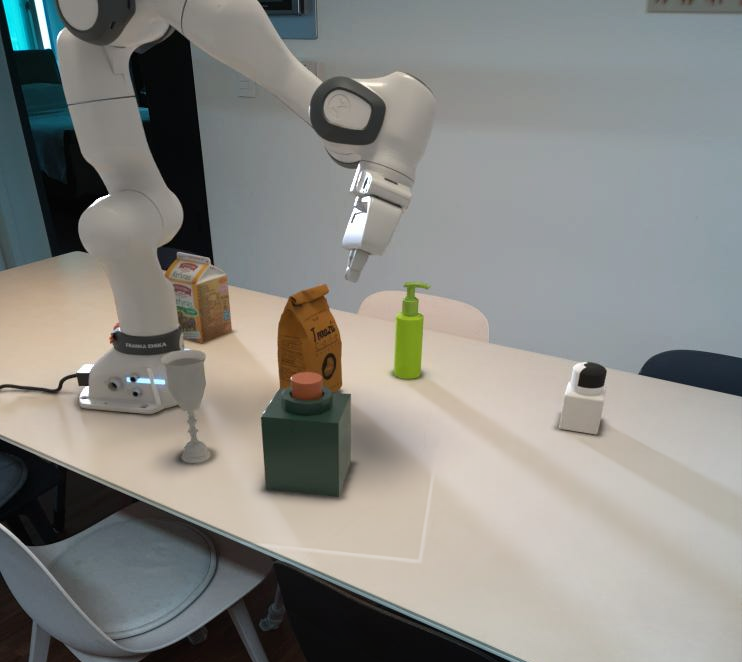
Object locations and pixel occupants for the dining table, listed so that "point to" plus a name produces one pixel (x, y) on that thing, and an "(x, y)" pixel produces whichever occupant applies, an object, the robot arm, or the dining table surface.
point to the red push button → (306, 386)
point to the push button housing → (307, 442)
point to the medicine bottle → (584, 398)
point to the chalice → (188, 394)
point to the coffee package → (309, 339)
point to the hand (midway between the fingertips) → (350, 281)
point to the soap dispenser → (409, 335)
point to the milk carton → (200, 297)
